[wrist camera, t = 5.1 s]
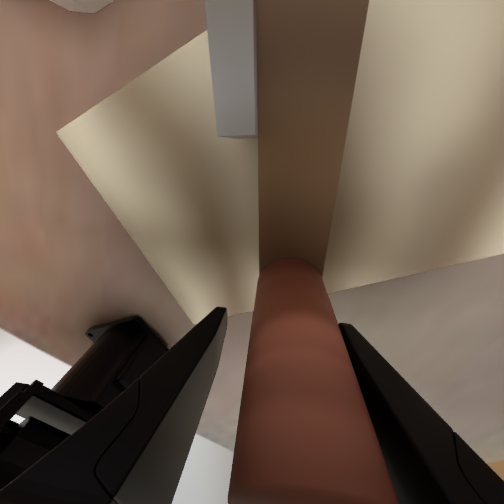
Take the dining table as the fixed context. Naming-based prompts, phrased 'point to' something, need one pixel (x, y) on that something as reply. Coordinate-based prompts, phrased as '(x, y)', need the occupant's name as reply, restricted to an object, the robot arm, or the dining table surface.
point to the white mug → (83, 5)
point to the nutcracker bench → (352, 169)
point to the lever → (295, 250)
